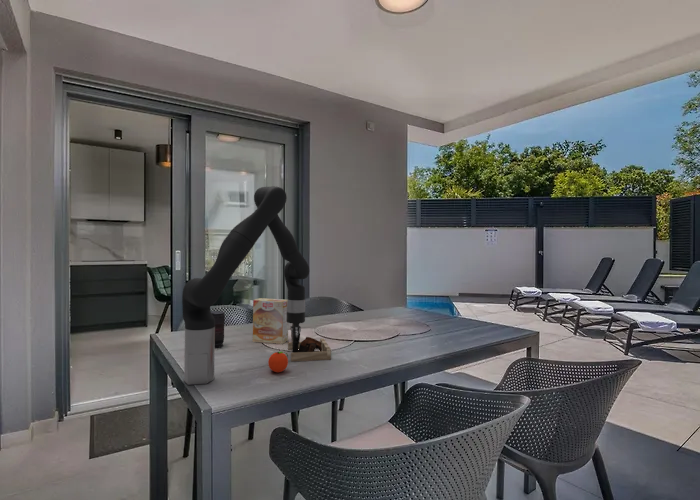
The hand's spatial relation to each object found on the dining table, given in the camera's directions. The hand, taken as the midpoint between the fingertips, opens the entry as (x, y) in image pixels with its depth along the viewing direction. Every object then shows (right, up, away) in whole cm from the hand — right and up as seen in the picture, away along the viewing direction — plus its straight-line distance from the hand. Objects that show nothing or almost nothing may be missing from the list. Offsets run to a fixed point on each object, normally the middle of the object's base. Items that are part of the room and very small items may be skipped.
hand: (295, 352), depth 158 cm
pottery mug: (+6, -1, 0) cm, 6 cm away
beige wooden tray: (+5, -1, +1) cm, 5 cm away
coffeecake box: (-14, -1, +21) cm, 26 cm away
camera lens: (-37, 0, +11) cm, 38 cm away
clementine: (-3, -1, -21) cm, 21 cm away
